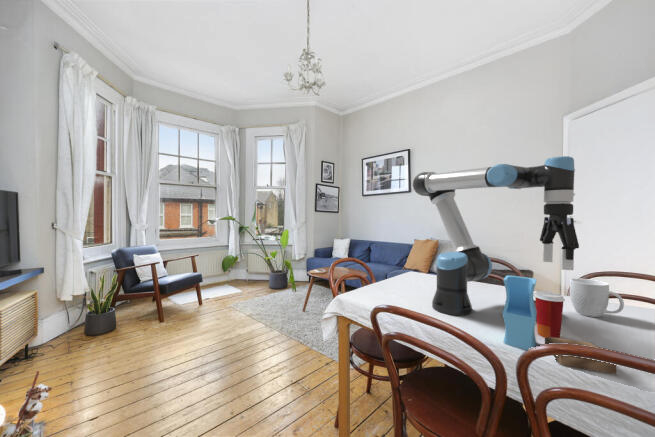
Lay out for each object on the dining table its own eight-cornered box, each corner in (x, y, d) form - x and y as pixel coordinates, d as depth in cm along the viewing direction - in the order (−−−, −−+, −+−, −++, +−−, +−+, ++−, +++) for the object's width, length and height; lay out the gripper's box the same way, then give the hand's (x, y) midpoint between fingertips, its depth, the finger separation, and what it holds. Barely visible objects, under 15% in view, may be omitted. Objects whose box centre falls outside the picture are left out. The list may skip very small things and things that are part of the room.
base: (560, 364, 69) (561, 353, 69) (544, 345, 80) (544, 335, 80) (616, 374, 65) (616, 362, 65) (591, 352, 76) (591, 342, 75)
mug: (626, 318, 99) (627, 284, 99) (620, 325, 93) (621, 289, 93) (574, 307, 111) (574, 276, 111) (565, 312, 105) (566, 280, 105)
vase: (502, 343, 81) (503, 279, 80) (506, 334, 87) (506, 274, 86) (534, 352, 76) (535, 284, 75) (536, 342, 82) (537, 278, 81)
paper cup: (561, 334, 87) (562, 292, 87) (567, 344, 80) (567, 298, 80) (531, 328, 91) (532, 288, 91) (534, 337, 85) (535, 294, 84)
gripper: (596, 202, 75) (593, 274, 76) (553, 204, 99) (552, 259, 100) (564, 202, 78) (562, 272, 79) (530, 204, 101) (528, 258, 102)
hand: (556, 265), depth 89 cm, fingers open, 13 cm apart
